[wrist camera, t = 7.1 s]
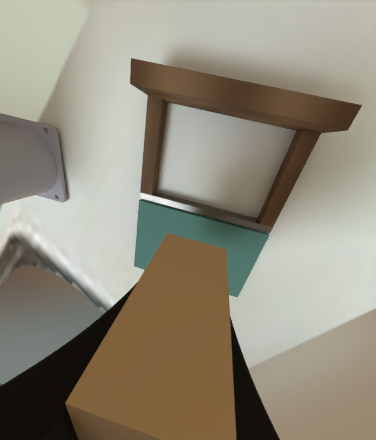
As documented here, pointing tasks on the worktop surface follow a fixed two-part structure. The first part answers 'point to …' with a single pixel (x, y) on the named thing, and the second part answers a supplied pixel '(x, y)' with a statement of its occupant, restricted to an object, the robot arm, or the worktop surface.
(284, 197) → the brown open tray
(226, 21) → the worktop surface
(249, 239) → the mat
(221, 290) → the block
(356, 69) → the worktop surface
